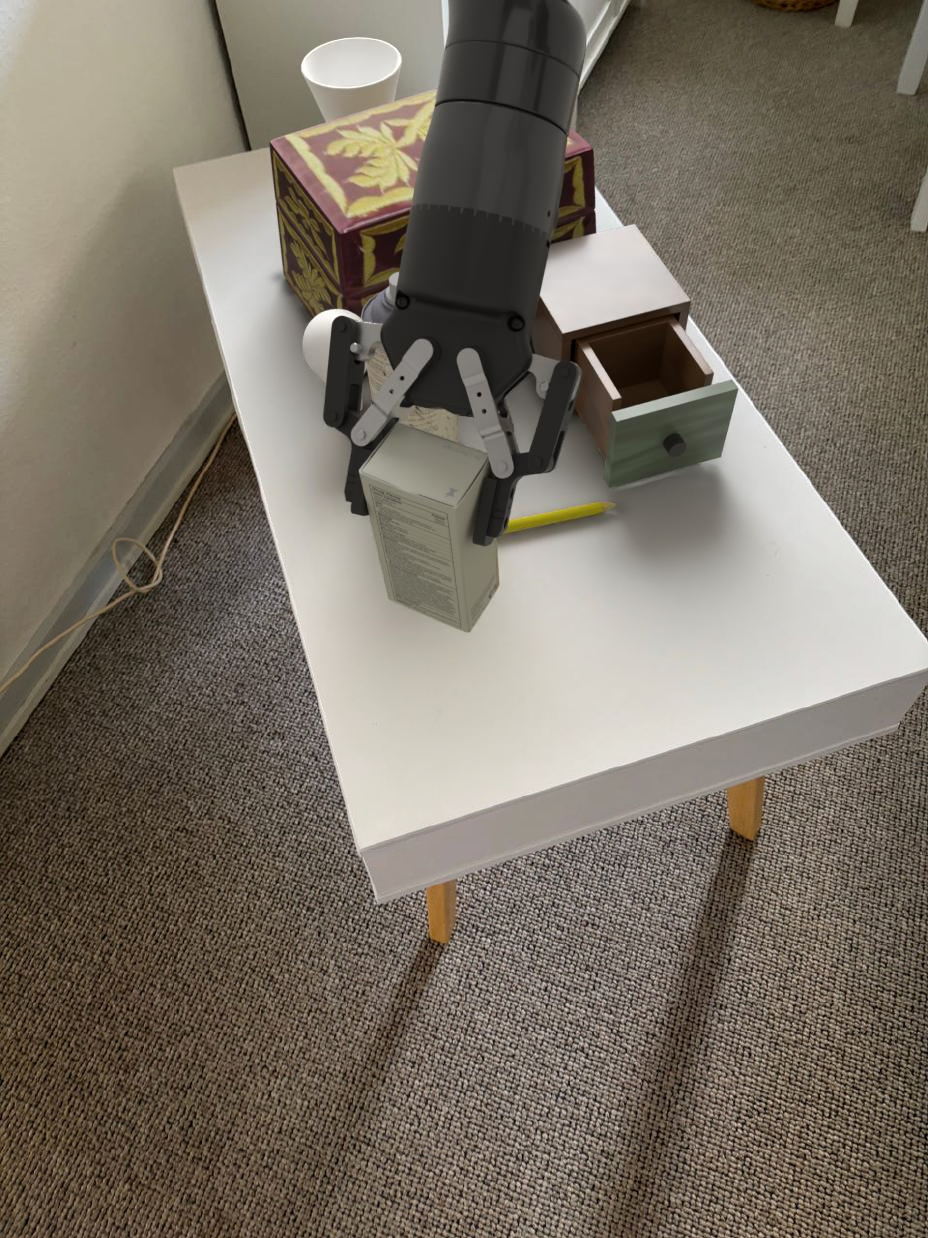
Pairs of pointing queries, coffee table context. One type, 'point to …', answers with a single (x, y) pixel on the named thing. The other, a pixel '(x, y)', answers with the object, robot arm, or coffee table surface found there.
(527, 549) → the coffee table surface
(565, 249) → the cabinet
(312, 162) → the decorative box
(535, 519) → the pencil
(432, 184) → the robot arm
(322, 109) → the cup
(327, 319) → the lightbulb
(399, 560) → the cosmetic box
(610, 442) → the drawer
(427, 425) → the aerosol can
